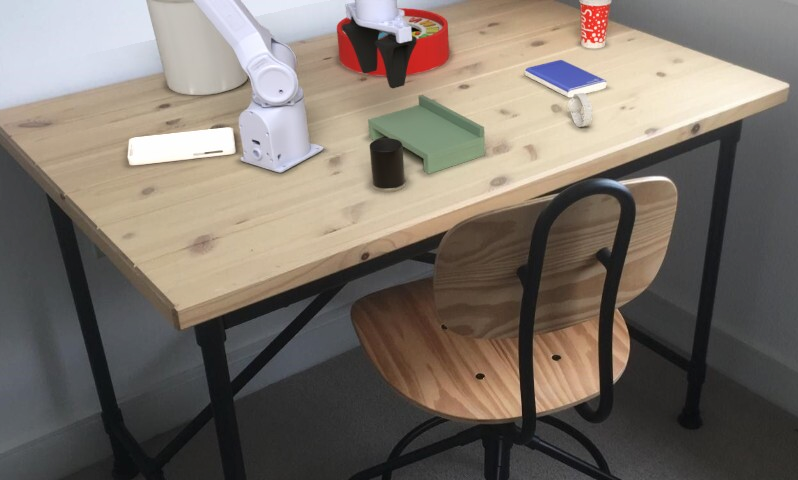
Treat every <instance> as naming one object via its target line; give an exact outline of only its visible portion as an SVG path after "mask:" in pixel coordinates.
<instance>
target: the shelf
mask: <svg viewBox="0 0 798 480" xmlns="http://www.w3.org/2000/svg"><path fill="white" fill-rule="evenodd" d="M417 96H418V98H417V99H418V104H417V105H414V106H410V107H406V108H403V109H400V110H396V111H393V112H389V113H385V114H382V115H379V116H375V117H372V118H369V119H367V124H368V134H369V135H368V136H369V139H370V140H373V141H375V140H378V139H384V138H391V139H396V140H399V141H400V142H401V143H402V148H405V149H407V150H408V151H410V152H411V153H413V154H415V155H417V156H419V157H420V158H421V159H423V172H424V173H426V174H428V175H430V174H433V173H437V172H439V171H442V170H445V169H448V168H452V167H454V166H457V165H461V164H463V163H467V162H469V161H472V160H475V159H478V158H481V157H484V156H485V155H486V153H485V151H486V150H485V149H486V148H485V145H486V144H485V127H484V126H483V125H481V124H479V123H477V122H476V121H473V120H472V119H470V118H468V117H466V116H463V115H462V114H460V113H458V112H456V111H454V110H452V109H450V108H448V107H447V106H444V105H443V104H441V103H439V102H437V101H435V100H433V99H432V98H430V97H428V96H426V95H424V94H420V95H417Z"/></svg>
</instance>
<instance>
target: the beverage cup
mask: <svg viewBox="0 0 798 480" xmlns="http://www.w3.org/2000/svg"><path fill="white" fill-rule="evenodd" d="M578 2H579V4H580V5H579V8H580V9H579V10H580V15H579V17H580V45H581V47H583V48H586V49H593V50H594V49H601V48H604V47H605V46H606V42H607V36H608V35H607V33H608V25H609V18H610V16H609V15H610V9H611V3H612V2H613V1H612V0H578Z"/></svg>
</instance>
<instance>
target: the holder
mask: <svg viewBox="0 0 798 480" xmlns="http://www.w3.org/2000/svg"><path fill="white" fill-rule="evenodd" d="M369 154H370V165H371V177H372V181H371V186H372V188H373V189H374V190H375V191H378V192H381V193H394V192H397V191H400V190H403V189H404V188H405V187H406V178H405V165H404V149H403V146H402V143H401V142H400V141H399V140H396V139H391V138H388V137H383V138H379V139H376V140H373V141H372V142H370V143H369Z"/></svg>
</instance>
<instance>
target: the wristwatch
mask: <svg viewBox="0 0 798 480" xmlns="http://www.w3.org/2000/svg"><path fill="white" fill-rule="evenodd" d="M566 108H567V110H568V111H569V112H570V115H571V118H572V121H573V123H574V125H575V126H576V127H578V128H582V127H583V128H584V127H588V126H590V125H591V124H592V119H593V106H592V103H591V101H590V98H589V96H588V95H587V93H586V94H585V93H579V94H574V95H573V97H571V98H570V99H569V100H568V102H567V104H566ZM582 109H583V114H582V116H581V110H582Z"/></svg>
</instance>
